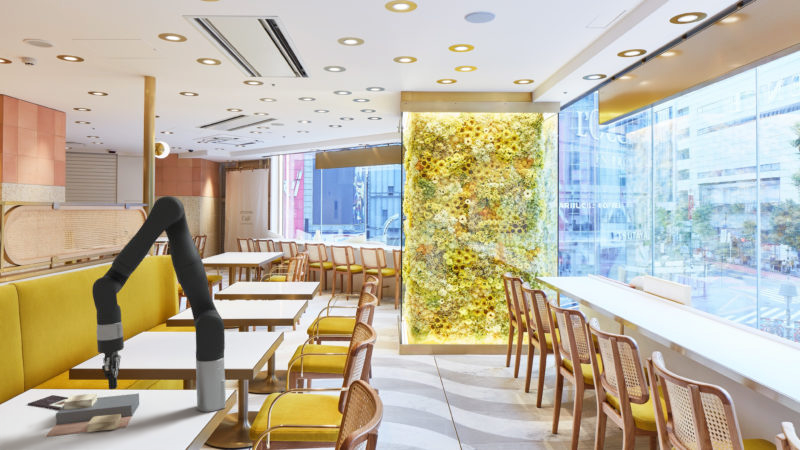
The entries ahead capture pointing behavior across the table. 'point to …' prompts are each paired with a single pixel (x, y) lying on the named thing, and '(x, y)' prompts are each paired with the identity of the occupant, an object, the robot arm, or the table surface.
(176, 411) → the table surface
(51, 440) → the table surface
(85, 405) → the birch tile
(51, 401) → the chocolate bar
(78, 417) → the slate board
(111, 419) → the oak tile
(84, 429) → the rubber mat
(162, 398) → the table surface
